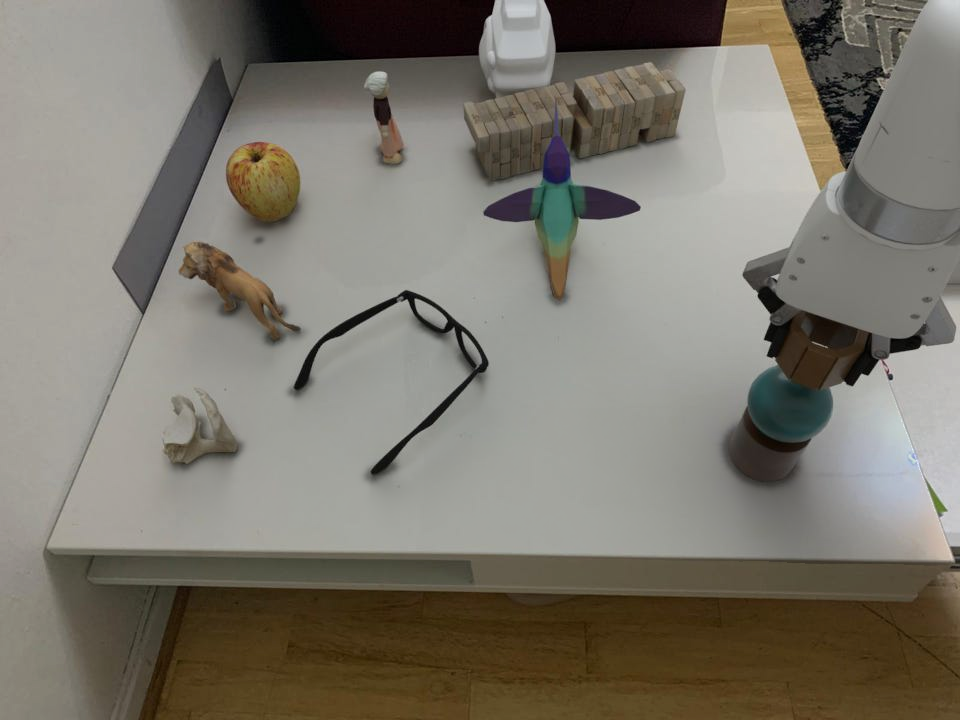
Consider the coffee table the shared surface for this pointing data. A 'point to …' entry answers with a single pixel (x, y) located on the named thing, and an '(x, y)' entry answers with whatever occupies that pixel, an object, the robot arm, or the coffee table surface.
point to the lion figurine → (232, 283)
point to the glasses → (449, 326)
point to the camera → (517, 47)
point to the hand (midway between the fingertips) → (813, 357)
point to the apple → (263, 180)
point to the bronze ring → (819, 351)
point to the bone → (195, 431)
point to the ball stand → (777, 425)
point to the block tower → (575, 118)
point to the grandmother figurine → (385, 117)
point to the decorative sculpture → (559, 209)
